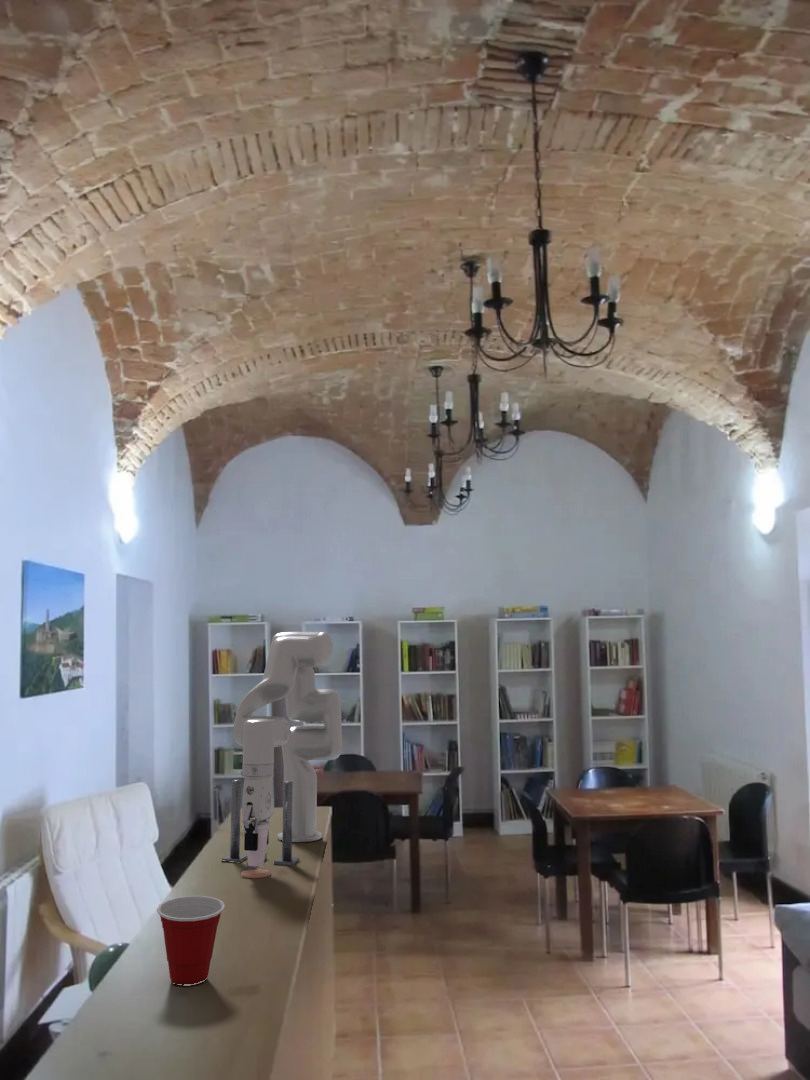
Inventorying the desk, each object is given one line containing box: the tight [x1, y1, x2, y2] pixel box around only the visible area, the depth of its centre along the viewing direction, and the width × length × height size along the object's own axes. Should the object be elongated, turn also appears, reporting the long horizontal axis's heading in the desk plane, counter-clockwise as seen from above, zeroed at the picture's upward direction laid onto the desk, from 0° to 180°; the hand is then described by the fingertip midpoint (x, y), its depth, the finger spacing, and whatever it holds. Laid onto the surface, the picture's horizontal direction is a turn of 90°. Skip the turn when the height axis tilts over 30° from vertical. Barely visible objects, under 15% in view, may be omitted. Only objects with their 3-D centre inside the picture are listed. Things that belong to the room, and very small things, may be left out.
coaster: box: [240, 868, 272, 880], centre depth 221 cm, size 7×7×1 cm
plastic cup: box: [156, 895, 226, 985], centre depth 151 cm, size 11×11×12 cm
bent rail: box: [246, 852, 268, 870], centre depth 232 cm, size 14×3×2 cm, turn 168°
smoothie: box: [242, 820, 271, 867], centre depth 222 cm, size 6×6×14 cm
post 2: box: [273, 781, 300, 866], centre depth 235 cm, size 5×5×20 cm
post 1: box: [221, 779, 248, 863], centre depth 238 cm, size 5×5×20 cm
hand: (256, 846), depth 222 cm, fingers closed on smoothie, 6 cm apart
